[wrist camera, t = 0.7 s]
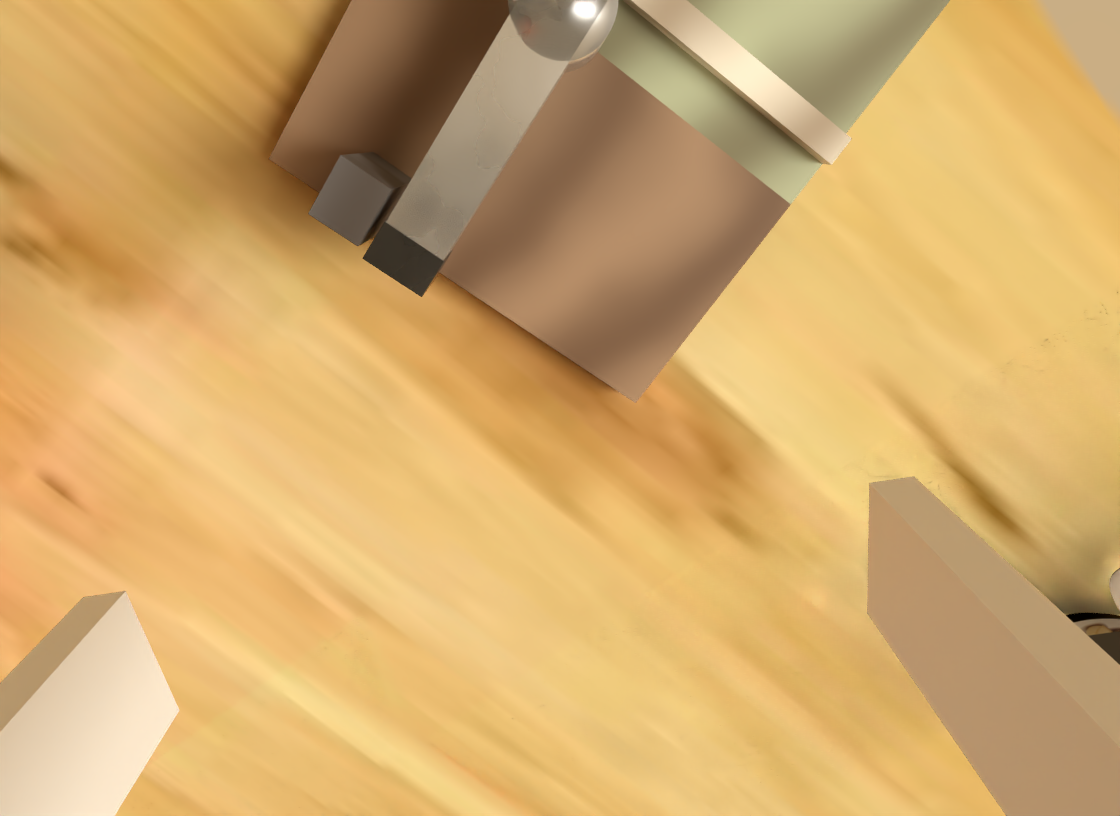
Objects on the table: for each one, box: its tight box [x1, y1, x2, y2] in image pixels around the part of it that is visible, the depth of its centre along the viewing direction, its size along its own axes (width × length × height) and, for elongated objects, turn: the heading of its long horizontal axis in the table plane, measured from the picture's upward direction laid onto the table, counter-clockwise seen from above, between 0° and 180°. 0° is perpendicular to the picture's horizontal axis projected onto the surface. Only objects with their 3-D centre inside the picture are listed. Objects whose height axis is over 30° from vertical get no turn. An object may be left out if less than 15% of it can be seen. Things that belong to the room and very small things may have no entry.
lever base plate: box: [269, 0, 950, 403], centre depth 26 cm, size 19×22×6 cm
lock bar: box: [363, 0, 618, 297], centre depth 26 cm, size 13×4×5 cm, turn 145°
